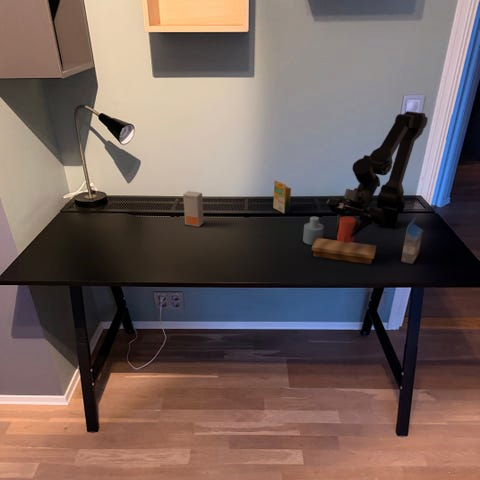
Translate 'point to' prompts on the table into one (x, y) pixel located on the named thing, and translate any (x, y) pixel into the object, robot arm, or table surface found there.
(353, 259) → the brown long block
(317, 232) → the light gray cylinder
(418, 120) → the robot arm
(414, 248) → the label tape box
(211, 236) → the table surface
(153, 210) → the table surface
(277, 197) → the crayon box
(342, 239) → the red cylinder
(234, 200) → the table surface
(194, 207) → the cosmetic box
